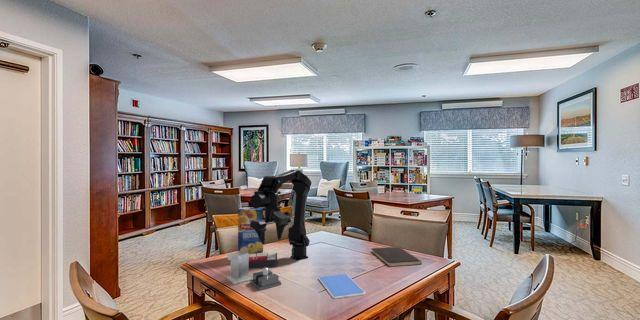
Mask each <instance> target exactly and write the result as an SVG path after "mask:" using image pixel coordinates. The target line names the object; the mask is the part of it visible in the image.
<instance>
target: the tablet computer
mask: <svg viewBox="0 0 640 320" xmlns="http://www.w3.org/2000/svg"><path fill="white" fill-rule="evenodd" d="M318 280H319V282H320V283H321V284H322V286H323V287H324V288H325V290H326V291H327V292H328V294H329V296H331V298H332V299H333V300H338V299H344V298H352V297H359V296H365V295H366V291H365V290H363V288H362V287H360V286H359V285H358V284H357V283H356V282H355V281H354V280H353V279H352V278H351V277H350V276H349V275H348V274H345V273H344V274H343V273H342V274H336V275H328V276H319V277H318Z"/></svg>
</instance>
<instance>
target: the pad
mask: <svg viewBox="0 0 640 320" xmlns="http://www.w3.org/2000/svg"><path fill="white" fill-rule="evenodd" d="M226 278H227V280H228V281H229V282H230V283H231V284H232V285H239V284H242V283H246V282H250V280H252V279H253V277H251V276H249V278H246V279H243V280H241V281H236V280H234V279H231V275H229V276H227V277H226Z"/></svg>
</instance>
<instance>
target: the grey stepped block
mask: <svg viewBox="0 0 640 320" xmlns="http://www.w3.org/2000/svg"><path fill="white" fill-rule="evenodd" d="M227 260H228V261H230V276H231V279H234V280H236V281H241V280H243V279H246V278H249V277H250V275H249V272H250V271H249V269H250V268H249V253H247V252H244V251H238V250H237V251H235V252H231V253H230V254H229V255H227Z"/></svg>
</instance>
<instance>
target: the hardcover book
mask: <svg viewBox="0 0 640 320" xmlns="http://www.w3.org/2000/svg"><path fill="white" fill-rule="evenodd" d="M370 249H371V250H372V251H371V252H372V253H373V254H374V255H376V257H377V258H379V259H380V260H381V261H383V262H384V263H385V264H386V265H387V266H388V267H398V266H412V265H422V260H421V259H419V258H417V257H415V256H414V255H413V254H411V253H410V252H408V251H407V250H405V249H404V248H401V247H400V246H389V247H374V248H373V247H372V248H370Z"/></svg>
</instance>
